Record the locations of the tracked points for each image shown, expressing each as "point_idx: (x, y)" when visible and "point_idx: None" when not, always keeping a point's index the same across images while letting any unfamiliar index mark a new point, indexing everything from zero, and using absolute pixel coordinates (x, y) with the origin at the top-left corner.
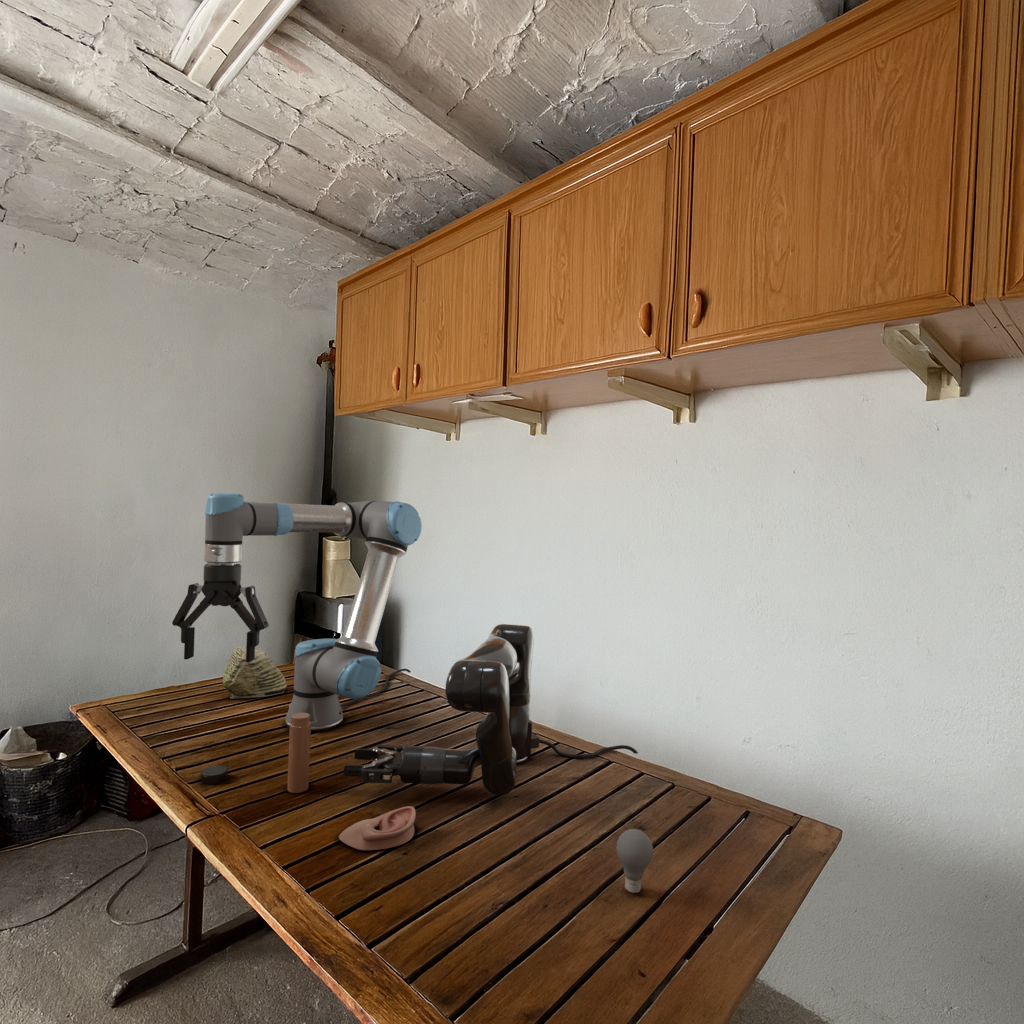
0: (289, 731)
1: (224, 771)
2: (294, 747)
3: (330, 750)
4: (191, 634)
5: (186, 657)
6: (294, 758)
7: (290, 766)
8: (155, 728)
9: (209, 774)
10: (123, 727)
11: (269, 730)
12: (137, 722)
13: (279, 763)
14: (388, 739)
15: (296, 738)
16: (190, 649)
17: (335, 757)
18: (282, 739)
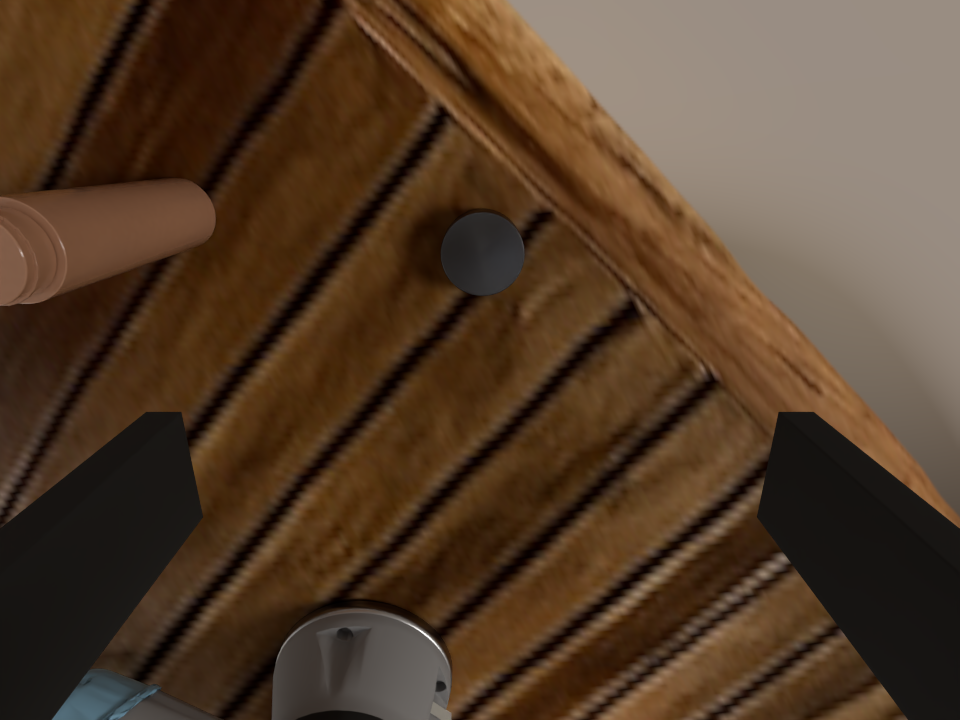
0: (74, 219)
1: (443, 249)
2: (77, 189)
3: (222, 490)
4: (945, 667)
5: (798, 420)
6: (106, 185)
7: (144, 187)
8: None
9: (482, 219)
10: None
11: (476, 602)
12: None
13: (332, 385)
14: None
15: (38, 191)
16: (817, 513)
17: None
18: (406, 548)
